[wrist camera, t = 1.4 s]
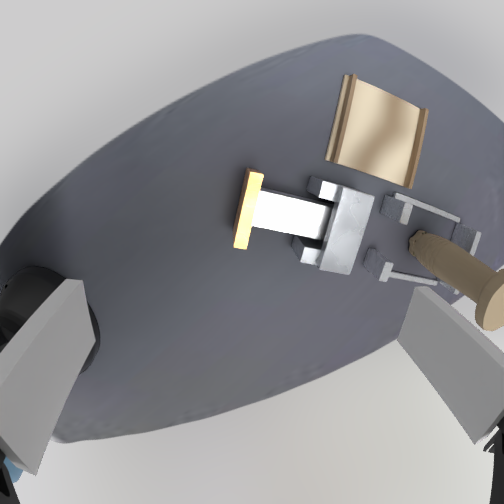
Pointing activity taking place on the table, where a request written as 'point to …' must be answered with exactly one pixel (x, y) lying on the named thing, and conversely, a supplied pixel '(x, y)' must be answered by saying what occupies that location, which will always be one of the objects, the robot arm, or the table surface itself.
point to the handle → (463, 276)
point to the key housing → (336, 228)
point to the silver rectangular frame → (401, 214)
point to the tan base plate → (376, 132)
